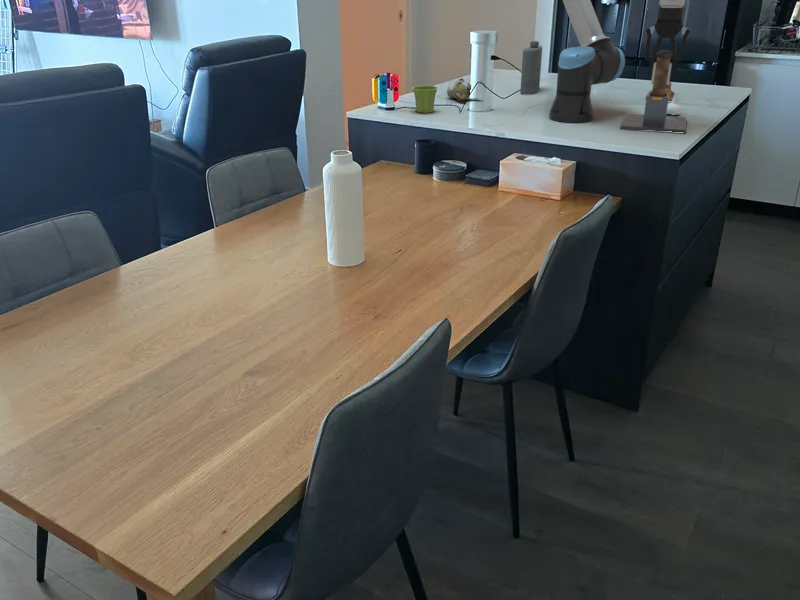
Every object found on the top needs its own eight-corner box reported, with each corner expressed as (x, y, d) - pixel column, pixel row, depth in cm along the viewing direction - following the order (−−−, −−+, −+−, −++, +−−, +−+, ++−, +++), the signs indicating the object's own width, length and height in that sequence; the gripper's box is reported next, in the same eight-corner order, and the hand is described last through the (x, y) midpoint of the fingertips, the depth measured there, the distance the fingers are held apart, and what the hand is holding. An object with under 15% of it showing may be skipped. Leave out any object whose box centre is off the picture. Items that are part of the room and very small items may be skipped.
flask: (532, 95, 285) (536, 43, 276) (518, 94, 287) (522, 43, 278) (542, 89, 297) (545, 39, 288) (528, 88, 299) (532, 39, 290)
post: (645, 120, 233) (655, 52, 223) (646, 116, 238) (656, 50, 228) (663, 121, 231) (673, 52, 221) (663, 117, 236) (674, 50, 226)
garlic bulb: (658, 114, 251) (662, 91, 247) (672, 112, 253) (676, 90, 249) (670, 117, 246) (674, 94, 242) (684, 115, 248) (688, 93, 244)
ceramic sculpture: (460, 73, 282) (485, 80, 272) (459, 95, 287) (483, 103, 276) (440, 76, 277) (464, 84, 266) (439, 98, 281) (463, 106, 271)
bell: (677, 98, 276) (681, 79, 273) (674, 104, 266) (678, 84, 263) (647, 96, 281) (650, 78, 277) (643, 102, 271) (645, 82, 268)
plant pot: (416, 115, 254) (416, 90, 250) (409, 110, 263) (409, 86, 259) (440, 113, 257) (441, 89, 253) (433, 108, 265) (433, 84, 261)
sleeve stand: (620, 129, 230) (624, 98, 226) (625, 116, 247) (629, 87, 242) (684, 133, 224) (689, 102, 219) (685, 120, 240) (691, 91, 236)
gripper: (642, 7, 218) (631, 84, 229) (700, 7, 213) (687, 86, 223) (643, 5, 224) (633, 80, 235) (700, 6, 219) (687, 82, 229)
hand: (660, 83), depth 229 cm, fingers closed on post, 4 cm apart
